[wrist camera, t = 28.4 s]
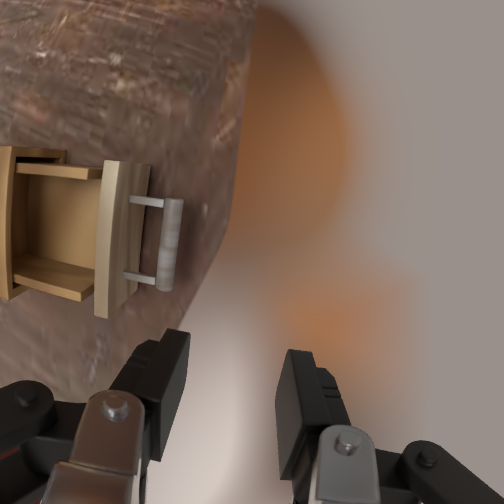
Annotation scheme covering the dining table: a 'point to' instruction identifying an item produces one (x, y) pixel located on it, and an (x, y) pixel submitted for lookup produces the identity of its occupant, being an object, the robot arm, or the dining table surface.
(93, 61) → the dining table surface
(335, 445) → the robot arm
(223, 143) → the dining table surface
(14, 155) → the cabinet
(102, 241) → the drawer
